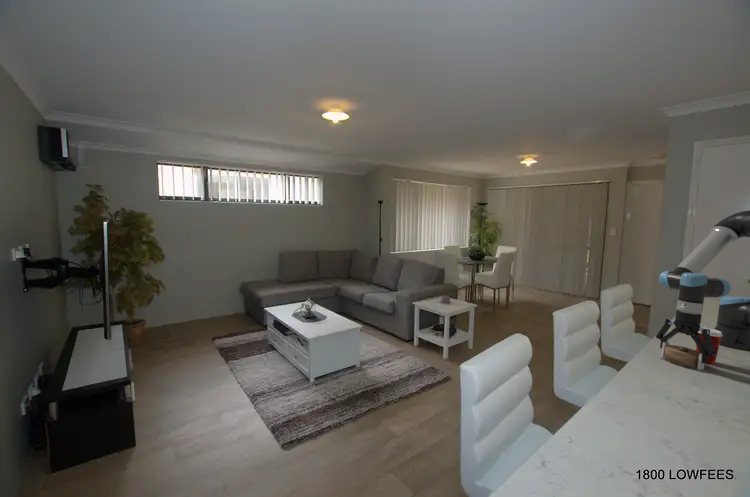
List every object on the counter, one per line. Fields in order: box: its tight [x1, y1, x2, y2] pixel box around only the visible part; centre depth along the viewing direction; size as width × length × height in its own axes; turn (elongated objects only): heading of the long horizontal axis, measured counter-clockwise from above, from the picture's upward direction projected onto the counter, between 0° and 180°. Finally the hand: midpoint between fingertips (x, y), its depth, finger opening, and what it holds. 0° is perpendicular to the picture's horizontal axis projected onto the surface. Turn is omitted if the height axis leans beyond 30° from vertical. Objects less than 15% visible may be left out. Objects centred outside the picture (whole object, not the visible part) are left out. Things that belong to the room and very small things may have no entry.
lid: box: [663, 344, 701, 369], centre depth 136 cm, size 11×11×6 cm
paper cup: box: [695, 326, 723, 365], centre depth 137 cm, size 8×8×14 cm
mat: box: [659, 357, 693, 370], centre depth 136 cm, size 10×10×1 cm
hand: (681, 363), depth 136 cm, fingers open, 12 cm apart
